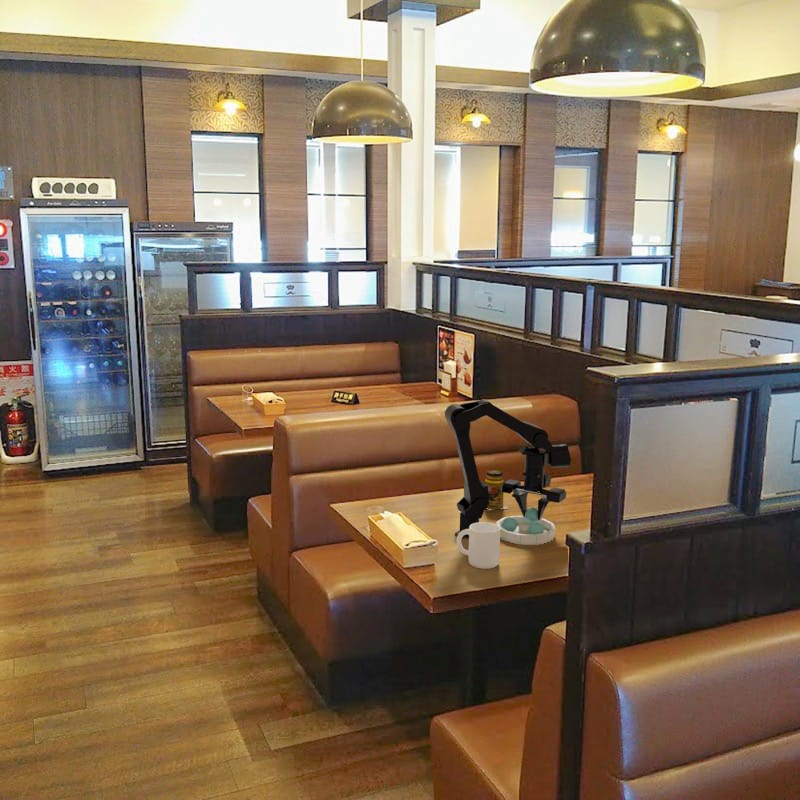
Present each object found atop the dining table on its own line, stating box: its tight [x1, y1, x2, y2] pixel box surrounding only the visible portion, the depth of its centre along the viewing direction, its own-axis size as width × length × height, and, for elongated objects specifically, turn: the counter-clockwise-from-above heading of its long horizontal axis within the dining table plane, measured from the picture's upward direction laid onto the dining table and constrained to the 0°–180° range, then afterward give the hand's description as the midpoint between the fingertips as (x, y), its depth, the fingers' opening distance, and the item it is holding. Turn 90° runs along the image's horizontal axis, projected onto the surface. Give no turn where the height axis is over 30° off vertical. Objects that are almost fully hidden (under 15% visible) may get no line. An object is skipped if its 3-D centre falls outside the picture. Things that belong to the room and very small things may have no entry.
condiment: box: [484, 469, 509, 512], centre depth 275 cm, size 7×8×12 cm
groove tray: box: [495, 515, 557, 546], centre depth 250 cm, size 17×17×3 cm
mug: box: [456, 521, 501, 570], centre depth 228 cm, size 12×8×10 cm
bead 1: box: [502, 516, 517, 532], centre depth 250 cm, size 4×4×4 cm
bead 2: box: [525, 507, 538, 522], centre depth 253 cm, size 4×4×4 cm
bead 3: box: [528, 522, 544, 534], centre depth 246 cm, size 4×4×4 cm
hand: (532, 518), depth 253 cm, fingers closed on bead 2, 4 cm apart
